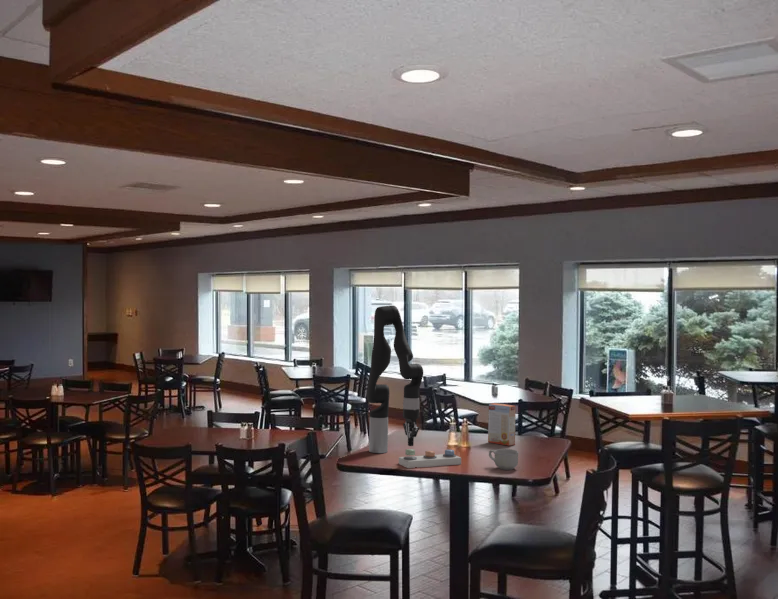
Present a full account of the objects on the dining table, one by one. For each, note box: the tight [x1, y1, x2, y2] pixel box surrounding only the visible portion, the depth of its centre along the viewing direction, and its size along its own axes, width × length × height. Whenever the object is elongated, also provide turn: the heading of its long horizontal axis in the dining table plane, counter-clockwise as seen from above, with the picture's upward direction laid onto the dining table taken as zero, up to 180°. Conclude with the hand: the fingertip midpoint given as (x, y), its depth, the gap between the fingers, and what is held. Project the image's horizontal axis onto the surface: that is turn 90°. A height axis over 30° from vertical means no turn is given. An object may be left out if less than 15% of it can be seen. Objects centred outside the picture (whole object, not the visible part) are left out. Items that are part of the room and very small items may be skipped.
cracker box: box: [487, 402, 517, 447], centre depth 399 cm, size 14×6×21 cm, turn 44°
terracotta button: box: [424, 450, 436, 457], centre depth 344 cm, size 4×4×2 cm
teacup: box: [488, 448, 519, 471], centre depth 338 cm, size 14×11×8 cm
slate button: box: [444, 449, 455, 456], centre depth 348 cm, size 4×4×2 cm
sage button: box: [404, 448, 416, 456], centre depth 340 cm, size 4×4×2 cm
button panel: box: [398, 453, 462, 469], centre depth 344 cm, size 10×27×4 cm, turn 112°
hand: (410, 445), depth 341 cm, fingers closed
